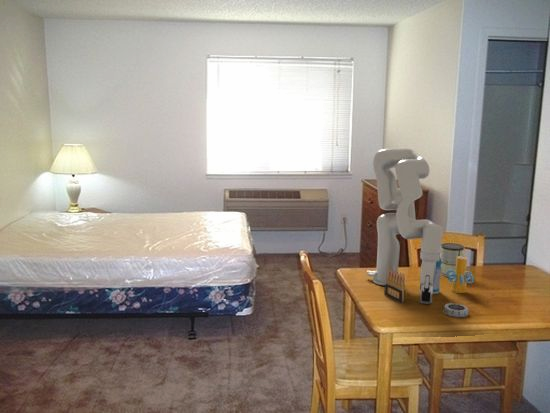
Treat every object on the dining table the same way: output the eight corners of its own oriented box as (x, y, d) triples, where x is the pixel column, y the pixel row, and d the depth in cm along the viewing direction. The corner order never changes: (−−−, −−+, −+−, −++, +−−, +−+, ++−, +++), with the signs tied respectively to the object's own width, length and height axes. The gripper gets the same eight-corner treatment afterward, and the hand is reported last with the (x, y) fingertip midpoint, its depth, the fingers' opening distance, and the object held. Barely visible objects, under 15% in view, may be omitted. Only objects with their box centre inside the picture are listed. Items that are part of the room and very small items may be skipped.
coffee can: (438, 270, 250) (440, 242, 248) (460, 271, 248) (462, 243, 246) (440, 276, 241) (442, 247, 238) (463, 278, 238) (465, 249, 236)
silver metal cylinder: (419, 302, 204) (421, 283, 202) (420, 298, 208) (421, 280, 206) (431, 304, 202) (433, 285, 200) (432, 300, 206) (434, 281, 205)
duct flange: (443, 315, 193) (443, 309, 193) (443, 307, 202) (444, 301, 201) (468, 319, 190) (469, 313, 190) (468, 310, 199) (468, 304, 198)
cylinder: (474, 297, 214) (477, 262, 211) (448, 294, 216) (451, 260, 213) (469, 287, 226) (472, 254, 223) (444, 285, 228) (447, 253, 225)
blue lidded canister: (441, 295, 215) (444, 249, 212) (420, 293, 217) (423, 248, 213) (438, 288, 224) (441, 244, 220) (418, 287, 225) (421, 243, 221)
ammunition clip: (404, 302, 206) (406, 274, 204) (401, 303, 205) (403, 274, 203) (388, 294, 216) (389, 266, 214) (384, 294, 215) (386, 267, 213)
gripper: (421, 248, 210) (418, 290, 214) (418, 260, 194) (414, 305, 198) (440, 250, 208) (436, 293, 211) (439, 262, 192) (434, 308, 196)
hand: (426, 298), depth 205 cm, fingers closed on silver metal cylinder, 4 cm apart
